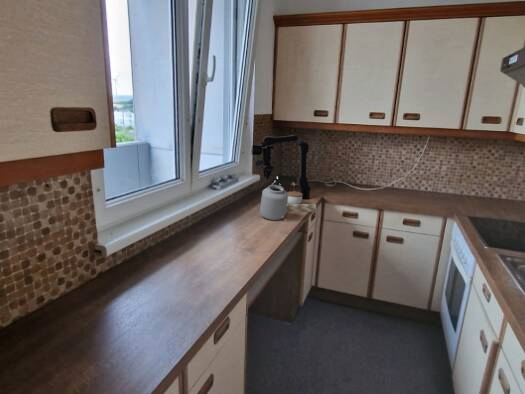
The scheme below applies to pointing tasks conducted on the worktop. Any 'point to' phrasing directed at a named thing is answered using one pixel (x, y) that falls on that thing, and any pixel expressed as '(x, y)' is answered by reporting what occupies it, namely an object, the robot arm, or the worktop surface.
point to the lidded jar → (294, 197)
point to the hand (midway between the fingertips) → (266, 178)
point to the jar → (273, 202)
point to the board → (300, 208)
